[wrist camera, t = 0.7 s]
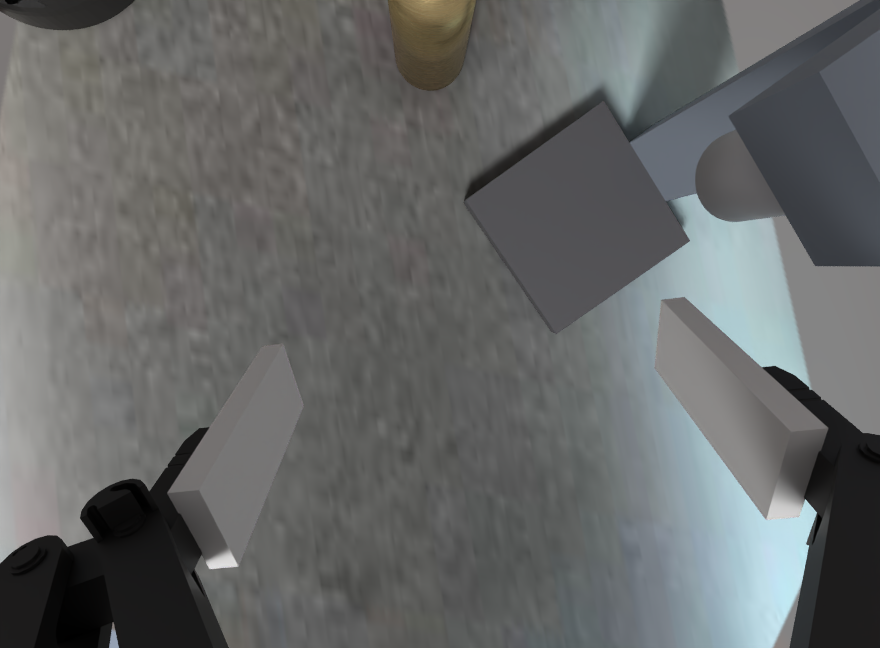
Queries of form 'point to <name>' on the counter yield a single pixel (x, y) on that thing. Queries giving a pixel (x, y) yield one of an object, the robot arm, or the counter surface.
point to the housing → (430, 39)
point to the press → (702, 173)
